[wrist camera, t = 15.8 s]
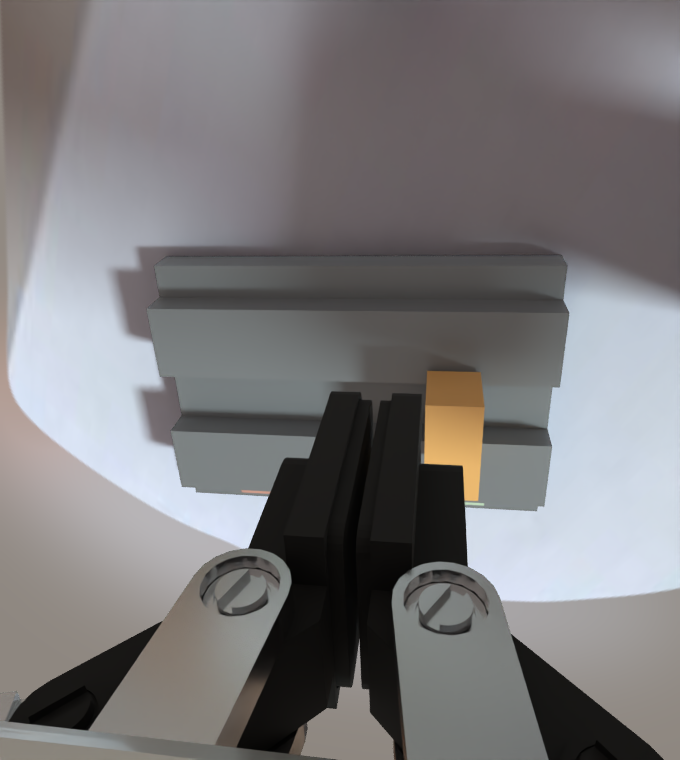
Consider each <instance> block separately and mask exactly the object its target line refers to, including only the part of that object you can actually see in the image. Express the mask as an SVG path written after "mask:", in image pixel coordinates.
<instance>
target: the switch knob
mask: <svg viewBox="0 0 680 760" xmlns="http://www.w3.org/2000/svg"><path fill="white" fill-rule="evenodd" d="M484 409H485V406H484V397H483V388H482V380H481V372H454V371H427V384H426V403H425V453H424V464H442V465H462V466H463V476H464V498H465V500H466V501H478V497H479V482H480V468H481V453H482V438H483V424H484Z"/></svg>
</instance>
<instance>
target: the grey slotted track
mask: <svg viewBox="0 0 680 760" xmlns="http://www.w3.org/2000/svg"><path fill="white" fill-rule="evenodd" d="M154 269H155V274H156V280H157V285H158V290H159V296H160V298H158V299H157V300H156V301H155V302H154V303H153V304H152V305H150V306H149V307H148V308H147V309H146V310H147V315H148V320H149V325H150V330H151V335H152V340H153V345H154V350H155V355H156V360H157V365H158V370H159V375H160V377H175V381H176V387H177V392H178V397H179V403H180V408H181V413H182V416H181V417H180V419H179V420H178V422H177V423H176V424H175V426H174V427H173V429H172V430H171V435H172V440H173V445H174V450H175V455H176V460H177V465H178V470H179V475H180V480H181V485H182V487H195V488H196V492H200V493H218V494H236V495H254V496H269V494H270V492H271V489H272V487H273V484H274V482H275V479H276V477H277V474H278V472H279V469H280V466H281V464H282V462H283V460H284V459H285V458H287V457H289V458H309V456H310V453H311V450H312V447H313V444H314V441H315V438H316V435H317V432H318V429H319V426H320V423H321V420H322V417H323V414H324V411H325V408H326V405H327V402H328V399H329V396H330V393H331V391H342V392H361V395H362V400H372V404H373V439H374V434H375V428H376V423H377V417H378V412H379V406H380V401H381V400H387V401H391V398H392V393H410V394H422V434H421V464H424V453H425V403H426V384H427V371H454V372H481V380H482V388H483V397H484V406H485V409H484V424H483V438H482V453H481V468H480V482H479V497H478V501H466V500H465V507H470V508H488V509H506V510H524V511H537V507H538V506H544V504H545V497H546V489H547V481H548V474H549V466H550V458H551V451H552V445H551V441H550V437H549V434H548V430H547V426H548V418H549V410H550V402H551V394H552V387H560V381H561V374H562V366H563V358H564V351H565V343H566V335H567V327H568V320H569V311H568V309H567V307H566V305H565V303H564V301H563V297H564V289H565V281H566V273H567V264H566V262H565V261H564V259H563V257H562V255H464V256H171V257H165V258H164V259H163V260H161V261H160V262H159V263H157V264H156V265H155V266H154Z"/></svg>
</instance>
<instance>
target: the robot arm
mask: <svg viewBox="0 0 680 760" xmlns="http://www.w3.org/2000/svg"><path fill="white" fill-rule="evenodd" d="M421 434H422V394H410V393H392V398H391V401H387V400H381V401H380V406H379V412H378V417H377V423H376V428H375V434H374V439H373V404H372V400H362V395H361V392H342V391H331V393H330V396H329V399H328V402H327V405H326V408H325V411H324V414H323V417H322V420H321V423H320V426H319V429H318V432H317V435H316V438H315V441H314V444H313V447H312V450H311V453H310V456H309V458H289V457H287V458H285V459H284V460H283V462H282V464H281V466H280V469H279V472H278V474H277V477H276V479H275V482H274V484H273V487H272V489H271V492H270V494H269V497H268V499H267V502H266V505H265V507H264V510H263V512H262V515H261V517H260V520H259V522H258V525H257V527H256V530H255V533H254V535H253V538H252V540H251V543H250V545H249V548H248V549H247V548H246V549H239V550H233V551H229V552H226V553H224V554H221V555H219V556H216V557H215V558H213V559H212V560H210V561H209V562H207V563H205V564H204V565H203V566H202V567H201V568H200V569H199V570H198V572H197V573H196V574H195V575H194V576H193V578H192V579H191V581H190V582H189V584H188V585H187V586H186V588H185V589H184V591H183V592H182V594H181V595H180V597H179V598H178V600H177V601H176V603H175V604H174V606H173V607H172V609H171V610H170V611H169V613H168V614H167V616H166V617H165V619H164V620H163V621H162V622H160V623H158V624H156V625H154V626H152V627H150V628H148V629H147V630H144V631H143V632H141V633H139V634H137V635H135V636H133V637H131V638H129V639H128V640H126V641H124V642H122V643H120V644H118V645H117V646H115V647H113V648H111V649H109V650H107V651H105V652H103V653H101V654H100V655H98V656H96V657H94V658H92V659H90V660H88V661H86V662H84V663H82V664H81V665H79V666H77V667H75V668H73V669H71V670H69V671H67V672H66V673H64V674H62V675H60V676H58V677H56V678H54V679H52V680H50V681H49V682H47V683H46V684H44V685H43V686H41V687H40V688H38V689H37V690H35V691H34V692H33V693H32V694H31V695H29V696H28V697H27V698H26V699H20V698H19V695H18V693H17V691H15V692H6V693H0V760H335V759H326V758H318V757H310V756H302V755H301V752H302V749H303V746H304V743H305V740H306V735H307V730H308V727H307V722H308V721H309V720H311V719H312V718H314V717H315V716H316V715H318V714H319V713H321V712H322V711H323V710H325V709H326V708H333V709H336V708H337V703H338V696H339V690H340V687H352V685H353V679H354V672H355V664H356V658H357V651H358V645H359V638H360V656H361V657H360V658H361V680H362V688H363V689H369V695H370V713H371V714H372V715H373V716H374V717H375V719H376V720H377V721H378V722H379V723H380V724H381V725H382V727H383V728H384V729H385V730H386V731H387V732H388V734H389V735H390V736H391V737H392V738H393V753H394V760H664V759H663V758H662V757H661V756H660V755H659V754H658V753H657V752H656V751H655V750H654V749H653V748H652V747H651V746H650V745H649V744H647V743H646V742H645V741H644V740H642V739H641V738H640V737H639V736H637V735H636V734H635V733H634V732H632V731H631V730H630V729H629V728H627V727H626V726H625V725H623V724H622V723H621V722H620V721H619V720H617V719H616V718H615V717H614V716H612V715H611V714H610V713H609V712H607V711H606V710H605V709H603V708H602V707H601V706H600V705H599V704H598V703H596V702H595V701H594V700H593V699H591V698H590V697H589V696H587V695H586V694H585V693H584V692H583V691H581V690H580V689H579V688H578V687H576V686H575V685H574V684H572V683H571V682H570V681H569V680H568V679H566V678H565V677H564V676H563V675H561V674H560V673H559V672H557V671H556V670H555V669H554V668H553V667H551V666H550V665H549V664H548V663H546V662H545V661H544V660H543V659H541V658H540V657H539V656H538V655H537V654H535V653H534V652H533V651H532V650H530V649H529V648H527V646H525V645H524V644H523V643H522V642H520V641H519V640H518V639H516V638H515V637H514V636H513V635H512V634H511V633H510V630H509V627H508V623H507V620H506V616H505V613H504V610H503V606H502V603H501V600H500V597H499V595H498V593H497V591H496V589H495V587H494V586H493V585H492V584H491V583H490V582H489V581H488V580H487V579H486V578H485V577H484V576H483V575H482V574H480V573H478V572H477V571H475V570H473V569H471V568H470V567H468V563H467V541H466V520H465V498H464V476H463V466H462V465H442V464H421Z"/></svg>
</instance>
